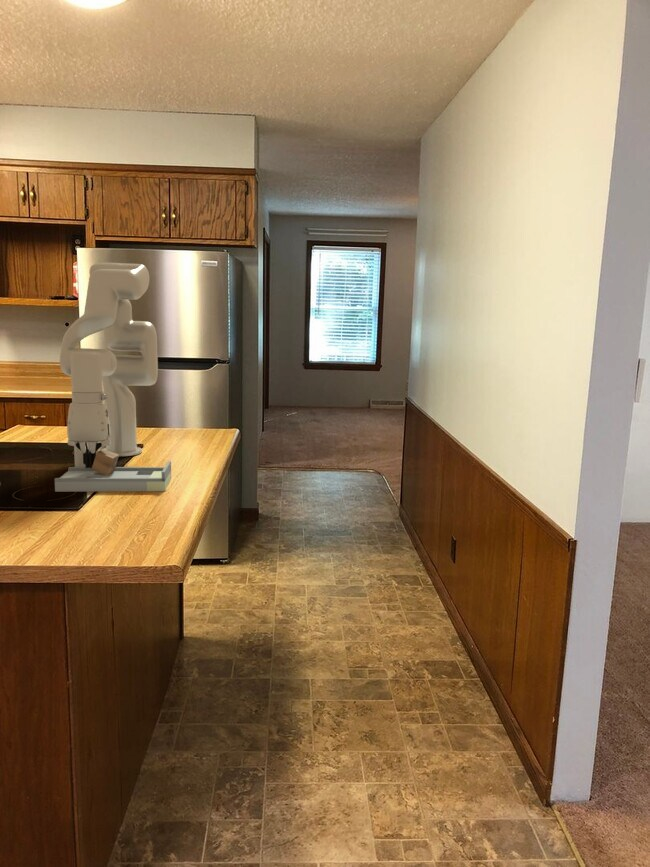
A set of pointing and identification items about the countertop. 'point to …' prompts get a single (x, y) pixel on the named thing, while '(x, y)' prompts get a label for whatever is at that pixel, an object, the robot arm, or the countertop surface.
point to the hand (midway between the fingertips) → (90, 466)
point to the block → (105, 462)
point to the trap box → (115, 479)
